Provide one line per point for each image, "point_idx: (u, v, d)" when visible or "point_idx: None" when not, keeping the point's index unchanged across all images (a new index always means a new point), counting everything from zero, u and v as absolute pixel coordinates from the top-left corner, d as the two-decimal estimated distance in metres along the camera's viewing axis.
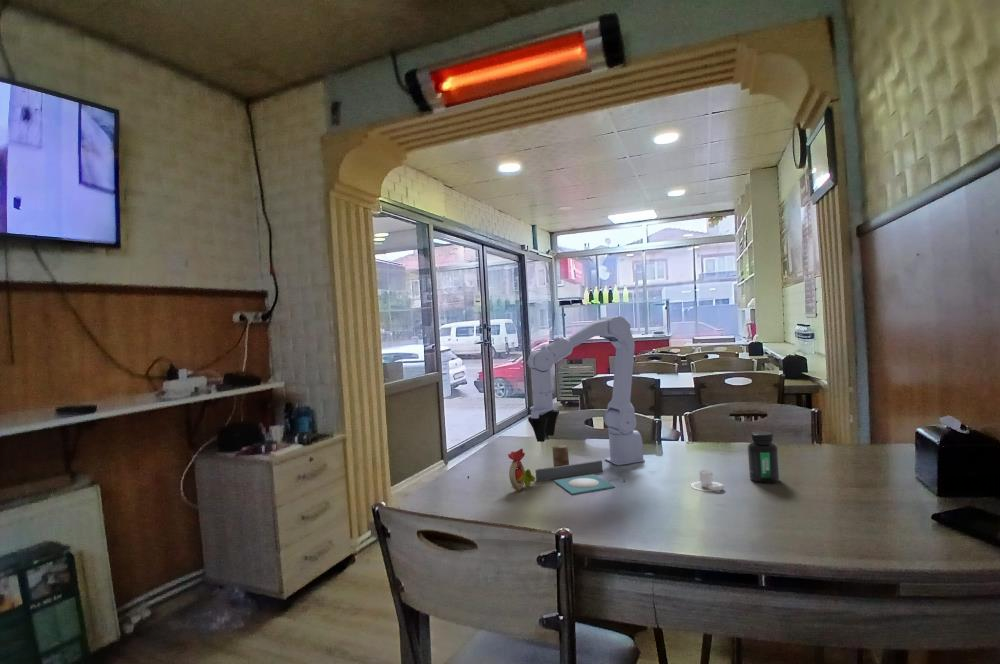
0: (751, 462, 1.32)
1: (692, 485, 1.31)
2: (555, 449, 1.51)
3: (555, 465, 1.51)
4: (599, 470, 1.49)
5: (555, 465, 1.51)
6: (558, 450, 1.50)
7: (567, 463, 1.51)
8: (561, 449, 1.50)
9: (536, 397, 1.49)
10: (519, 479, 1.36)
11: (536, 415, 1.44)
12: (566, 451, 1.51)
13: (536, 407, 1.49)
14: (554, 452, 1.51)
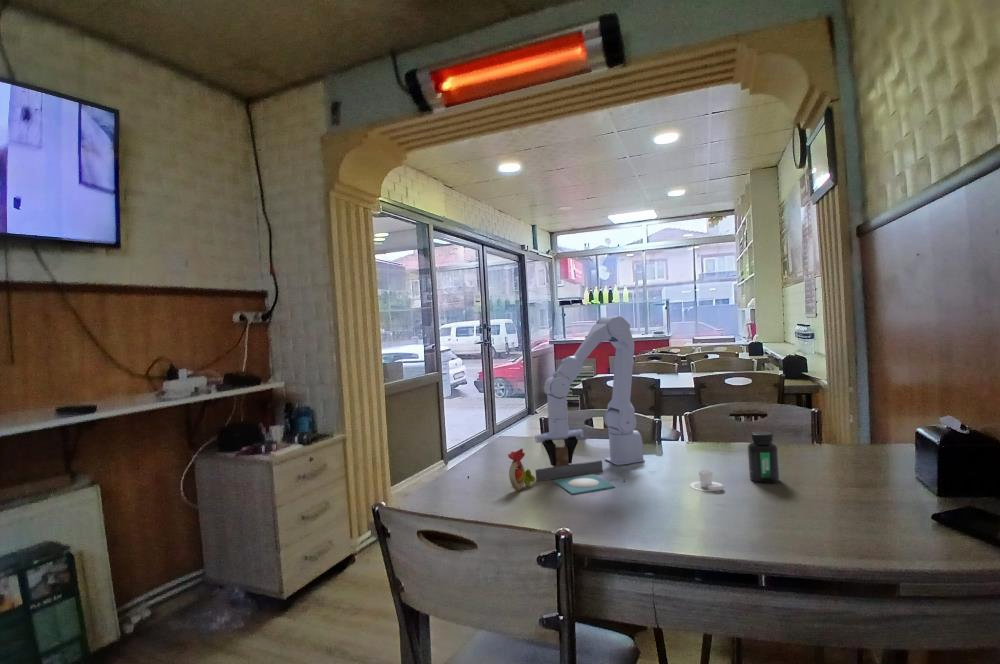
0: (751, 462, 1.32)
1: (692, 485, 1.31)
2: (555, 449, 1.51)
3: None
4: (599, 470, 1.49)
5: None
6: (558, 450, 1.50)
7: (567, 463, 1.51)
8: (561, 449, 1.50)
9: None
10: (519, 479, 1.36)
11: (537, 440, 1.50)
12: (566, 451, 1.51)
13: (549, 432, 1.53)
14: None
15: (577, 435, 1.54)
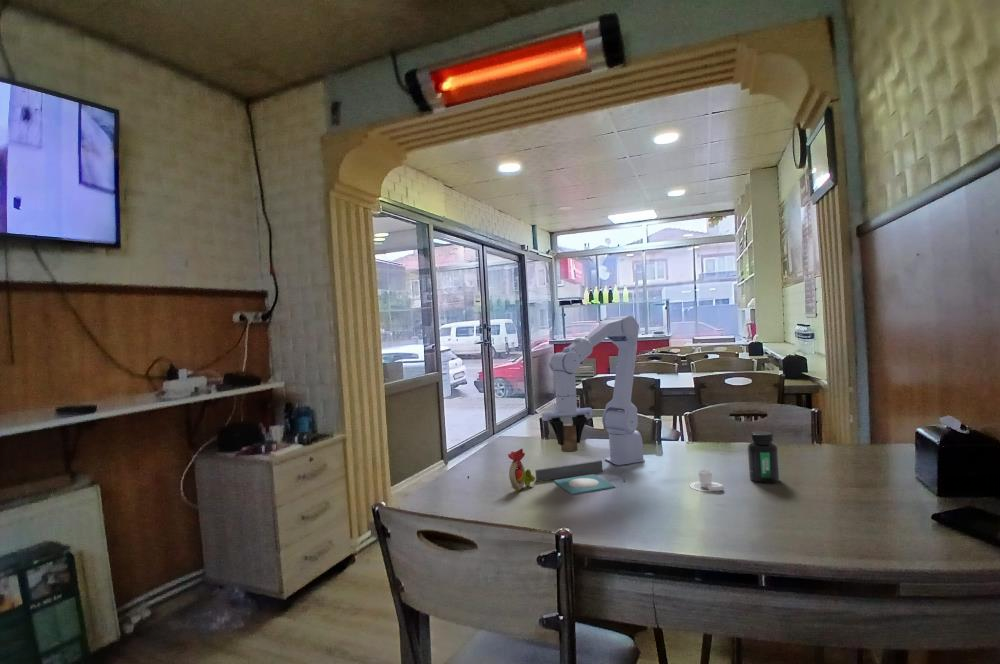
0: (751, 462, 1.32)
1: (691, 485, 1.31)
2: (563, 427, 1.44)
3: (563, 444, 1.44)
4: (599, 470, 1.49)
5: (562, 445, 1.44)
6: (566, 428, 1.43)
7: (575, 442, 1.44)
8: (569, 427, 1.43)
9: (556, 399, 1.46)
10: (519, 479, 1.36)
11: (543, 417, 1.43)
12: (574, 430, 1.44)
13: (556, 410, 1.46)
14: None
15: (586, 413, 1.47)
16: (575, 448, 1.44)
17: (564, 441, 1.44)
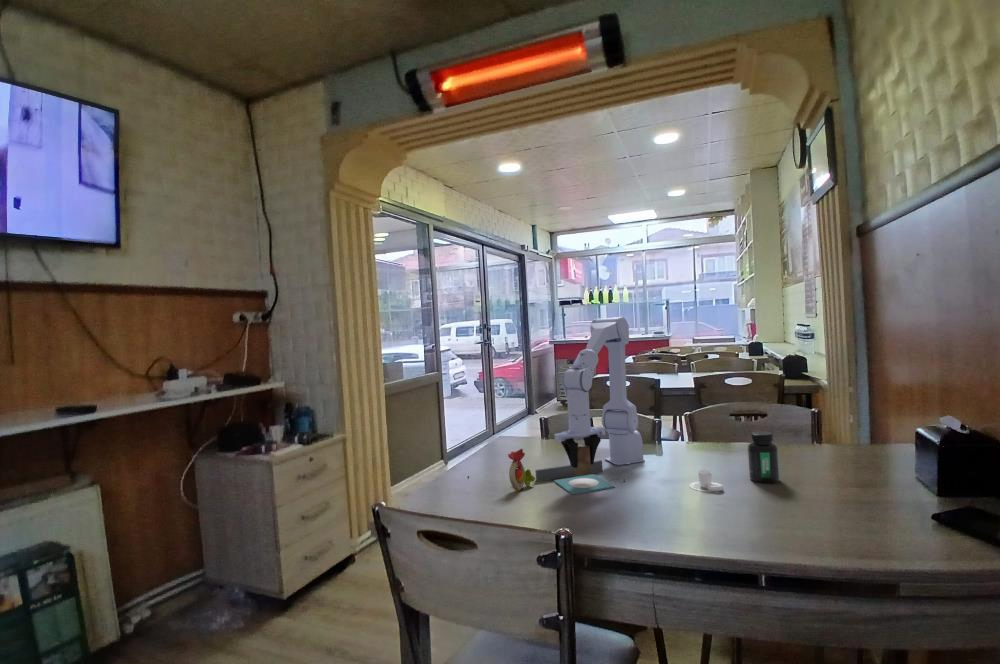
0: (751, 462, 1.32)
1: (691, 485, 1.31)
2: None
3: None
4: (599, 470, 1.49)
5: (576, 467, 1.37)
6: (580, 450, 1.36)
7: (589, 464, 1.37)
8: (583, 448, 1.36)
9: None
10: (519, 479, 1.36)
11: (557, 439, 1.34)
12: (588, 451, 1.37)
13: (569, 430, 1.38)
14: None
15: (598, 433, 1.40)
16: (589, 470, 1.37)
17: (578, 463, 1.36)
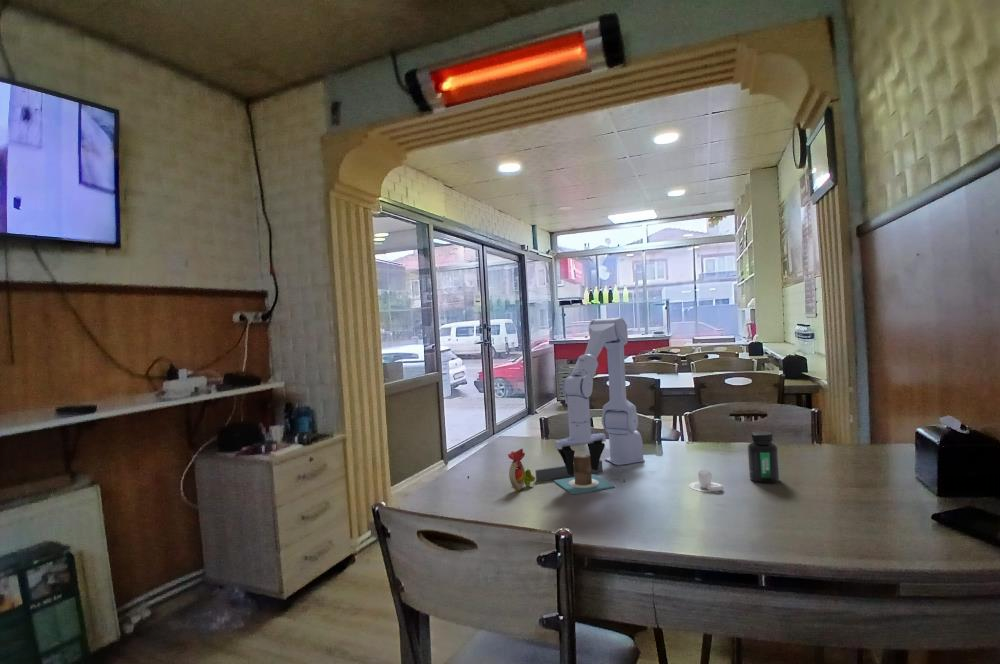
0: (751, 462, 1.32)
1: (691, 485, 1.31)
2: (577, 459, 1.36)
3: (577, 477, 1.37)
4: (599, 470, 1.49)
5: (576, 477, 1.37)
6: (581, 460, 1.36)
7: (590, 474, 1.37)
8: (584, 459, 1.36)
9: (569, 425, 1.38)
10: (519, 479, 1.36)
11: (558, 446, 1.35)
12: (589, 461, 1.37)
13: (569, 437, 1.38)
14: (576, 463, 1.37)
15: (599, 439, 1.40)
16: (590, 480, 1.37)
17: (579, 474, 1.36)
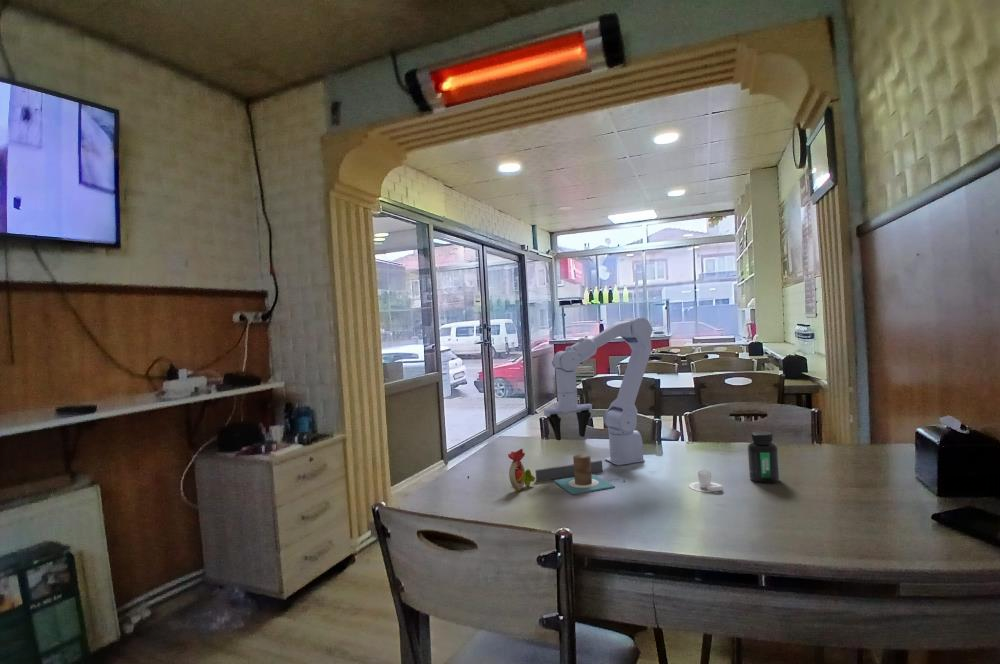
0: (751, 462, 1.32)
1: (691, 486, 1.31)
2: (577, 459, 1.36)
3: (577, 477, 1.37)
4: (599, 470, 1.49)
5: (576, 477, 1.37)
6: (581, 460, 1.36)
7: (590, 474, 1.37)
8: (584, 459, 1.36)
9: None
10: (519, 479, 1.36)
11: (546, 413, 1.50)
12: (589, 461, 1.37)
13: (558, 406, 1.53)
14: (576, 463, 1.37)
15: (586, 409, 1.54)
16: (590, 480, 1.37)
17: (579, 474, 1.36)
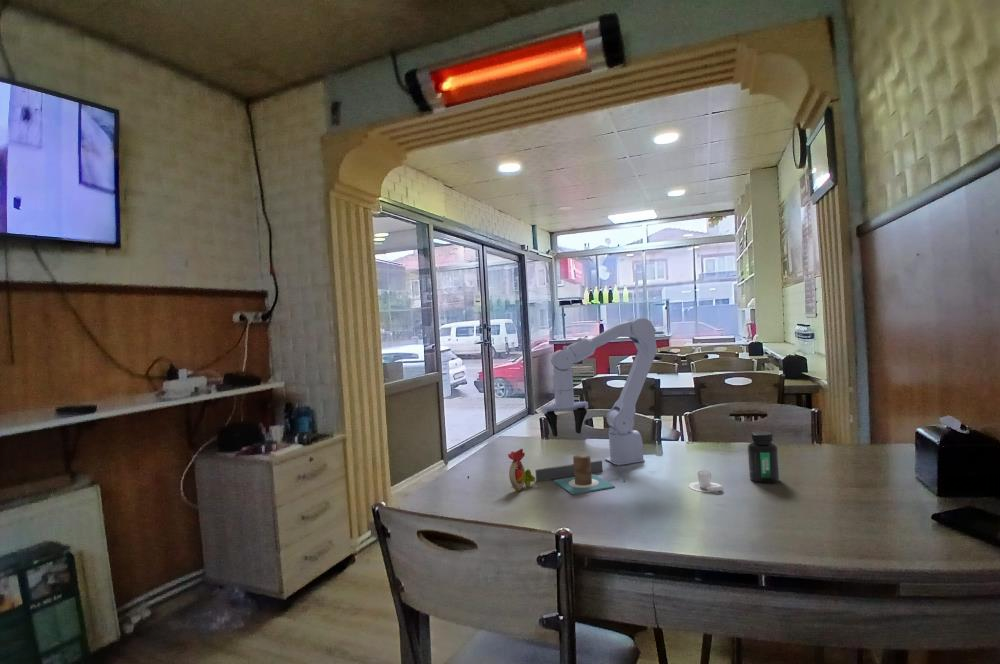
0: (751, 462, 1.32)
1: (690, 486, 1.31)
2: (577, 459, 1.36)
3: (577, 477, 1.37)
4: (599, 470, 1.49)
5: (576, 477, 1.37)
6: (581, 460, 1.36)
7: (590, 474, 1.37)
8: (584, 459, 1.36)
9: None
10: (519, 479, 1.36)
11: (543, 410, 1.55)
12: (589, 461, 1.37)
13: (555, 403, 1.58)
14: (576, 463, 1.37)
15: (582, 407, 1.58)
16: (590, 480, 1.37)
17: (579, 474, 1.36)
